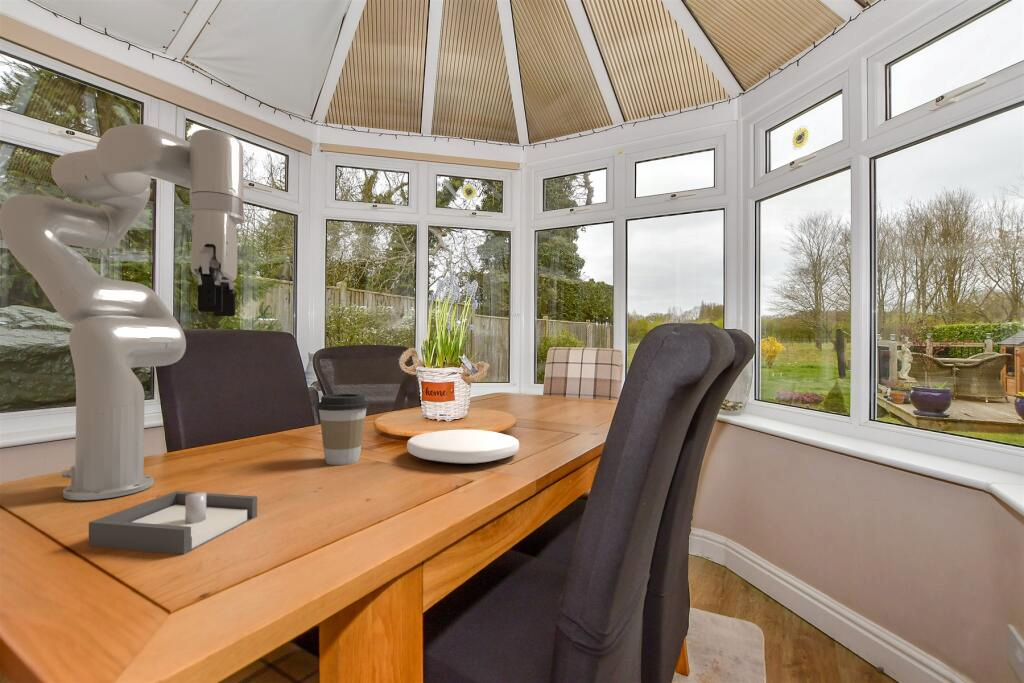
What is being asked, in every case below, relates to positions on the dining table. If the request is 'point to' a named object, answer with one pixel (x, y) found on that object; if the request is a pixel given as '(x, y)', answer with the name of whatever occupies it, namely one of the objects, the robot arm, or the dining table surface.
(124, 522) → the dark box
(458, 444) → the white round disc
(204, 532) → the cover plate
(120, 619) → the dining table surface
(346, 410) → the coffee cup
